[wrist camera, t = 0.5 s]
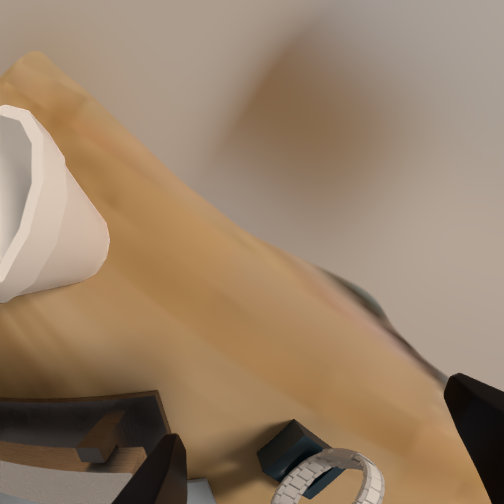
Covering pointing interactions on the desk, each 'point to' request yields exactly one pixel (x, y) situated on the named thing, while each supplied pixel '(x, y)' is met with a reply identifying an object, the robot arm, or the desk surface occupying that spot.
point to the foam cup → (42, 213)
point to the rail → (65, 474)
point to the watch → (314, 466)
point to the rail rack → (86, 423)
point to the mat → (197, 499)
